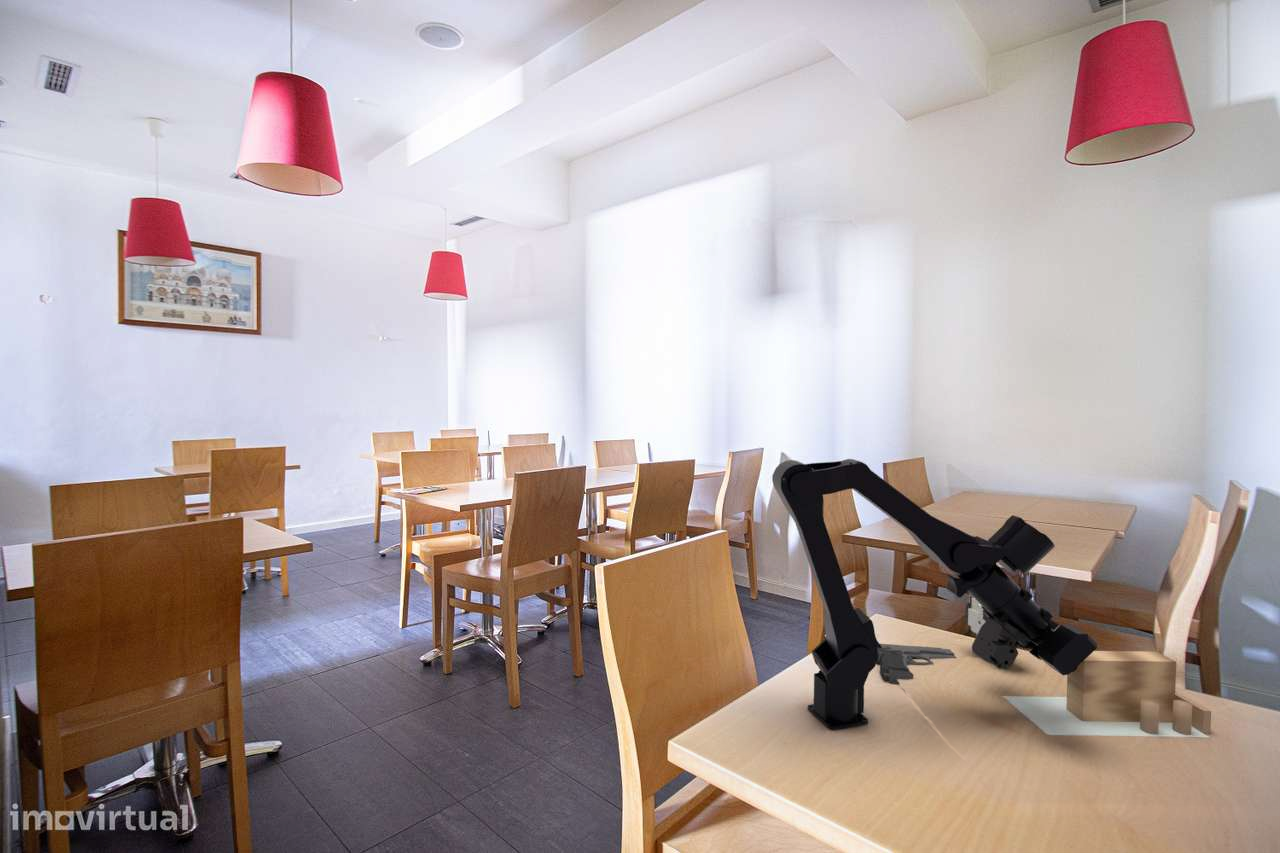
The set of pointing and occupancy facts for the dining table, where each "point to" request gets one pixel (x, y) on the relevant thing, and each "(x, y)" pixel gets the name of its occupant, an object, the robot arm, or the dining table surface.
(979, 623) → the pneumatic valve
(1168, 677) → the brown wooden block
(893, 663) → the handgun
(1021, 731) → the dining table surface
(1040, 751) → the dining table surface
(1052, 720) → the panel
